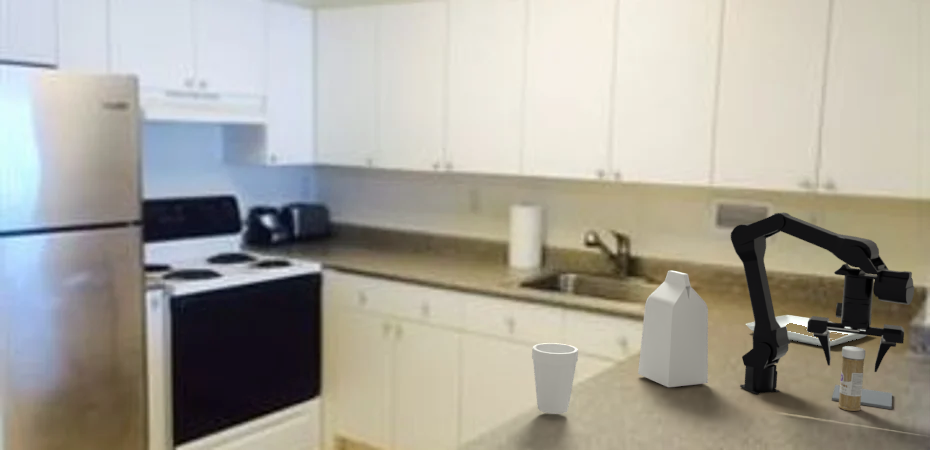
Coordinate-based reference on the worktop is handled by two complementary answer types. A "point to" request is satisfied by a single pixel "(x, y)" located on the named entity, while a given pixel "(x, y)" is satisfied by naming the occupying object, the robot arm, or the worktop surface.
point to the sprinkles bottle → (851, 378)
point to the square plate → (805, 338)
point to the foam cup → (554, 375)
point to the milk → (675, 334)
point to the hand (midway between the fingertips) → (851, 368)
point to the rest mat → (869, 398)
